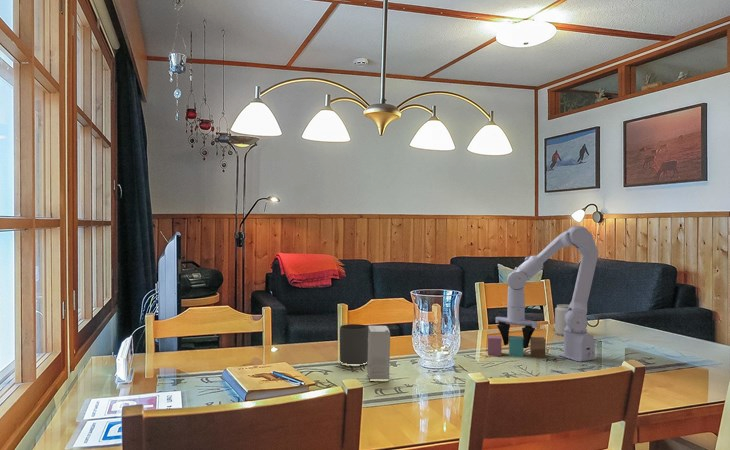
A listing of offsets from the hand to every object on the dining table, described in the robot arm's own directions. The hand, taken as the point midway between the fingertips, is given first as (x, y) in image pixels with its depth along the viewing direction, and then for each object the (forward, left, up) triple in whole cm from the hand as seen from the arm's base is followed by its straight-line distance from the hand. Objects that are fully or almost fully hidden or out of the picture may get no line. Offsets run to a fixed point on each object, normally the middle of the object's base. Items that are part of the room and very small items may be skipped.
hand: (515, 346), depth 192 cm
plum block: (+4, +6, -3) cm, 8 cm away
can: (+18, -41, -3) cm, 45 cm away
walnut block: (-4, -6, -3) cm, 8 cm away
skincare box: (-6, +55, -3) cm, 56 cm away
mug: (+15, +54, -3) cm, 57 cm away
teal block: (0, 0, -3) cm, 3 cm away
